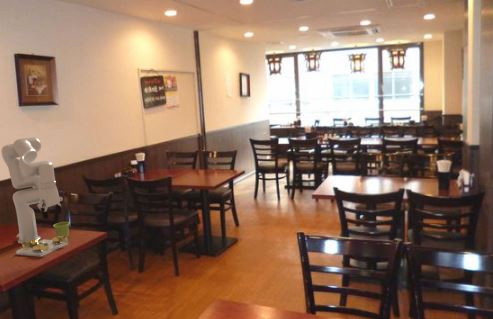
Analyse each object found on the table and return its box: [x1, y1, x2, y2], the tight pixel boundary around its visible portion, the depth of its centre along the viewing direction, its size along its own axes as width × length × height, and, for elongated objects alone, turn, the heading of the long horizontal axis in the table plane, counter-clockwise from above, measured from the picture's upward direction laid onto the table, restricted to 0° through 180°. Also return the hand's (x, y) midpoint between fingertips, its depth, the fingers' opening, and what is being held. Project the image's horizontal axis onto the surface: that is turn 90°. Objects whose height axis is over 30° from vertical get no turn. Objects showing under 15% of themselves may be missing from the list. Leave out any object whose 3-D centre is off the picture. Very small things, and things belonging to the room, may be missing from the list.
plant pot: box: [52, 221, 71, 238], centre depth 270 cm, size 9×9×9 cm
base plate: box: [15, 238, 69, 258], centre depth 250 cm, size 18×20×4 cm
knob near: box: [21, 240, 39, 249], centre depth 250 cm, size 10×4×3 cm, turn 159°
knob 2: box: [51, 236, 69, 243], centre depth 254 cm, size 10×4×3 cm, turn 69°
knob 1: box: [33, 244, 49, 251], centre depth 241 cm, size 10×4×3 cm, turn 69°
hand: (52, 216), depth 238 cm, fingers open, 9 cm apart
